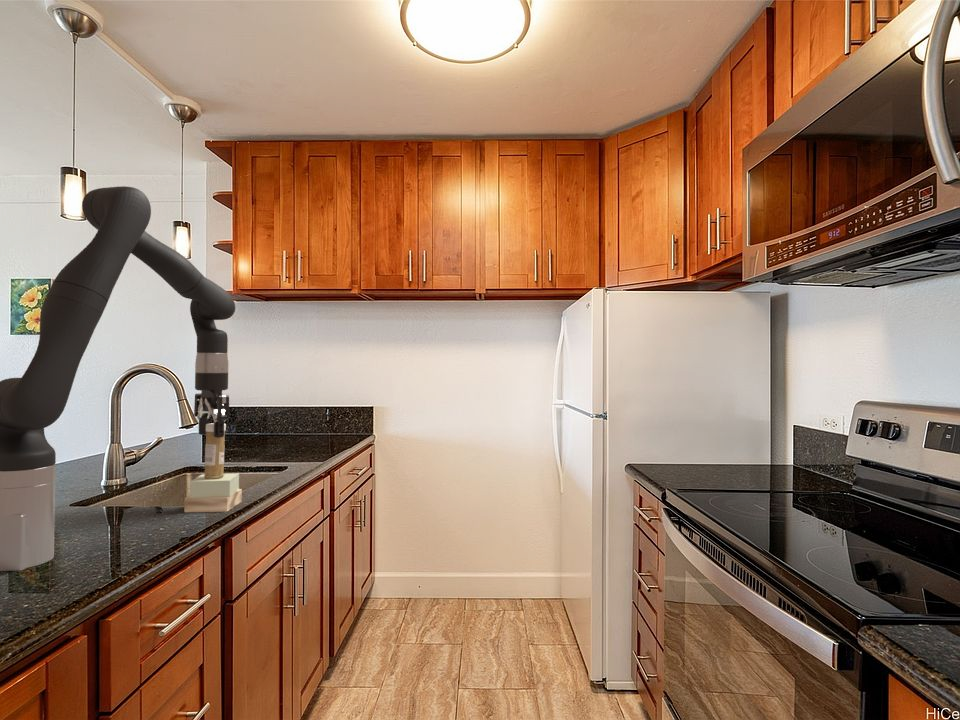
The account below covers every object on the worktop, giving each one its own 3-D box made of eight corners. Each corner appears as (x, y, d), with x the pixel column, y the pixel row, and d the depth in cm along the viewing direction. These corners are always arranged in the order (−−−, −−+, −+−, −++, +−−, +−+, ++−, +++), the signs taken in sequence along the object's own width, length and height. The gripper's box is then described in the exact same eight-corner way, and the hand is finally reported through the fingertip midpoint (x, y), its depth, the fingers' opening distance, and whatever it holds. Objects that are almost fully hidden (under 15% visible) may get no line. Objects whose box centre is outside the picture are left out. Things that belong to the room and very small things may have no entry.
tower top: (229, 496, 135) (229, 480, 135) (189, 498, 134) (190, 481, 134) (238, 488, 144) (239, 473, 144) (201, 489, 143) (201, 474, 143)
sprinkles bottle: (227, 477, 139) (229, 423, 139) (208, 479, 135) (211, 424, 136) (218, 475, 142) (220, 422, 142) (200, 477, 138) (202, 423, 139)
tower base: (227, 514, 134) (227, 498, 134) (184, 515, 134) (184, 498, 134) (241, 504, 144) (241, 488, 144) (201, 504, 143) (202, 489, 144)
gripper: (240, 371, 138) (239, 437, 138) (214, 370, 147) (213, 432, 147) (209, 371, 132) (208, 439, 132) (184, 370, 141) (183, 434, 141)
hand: (211, 435), depth 140 cm, fingers open, 8 cm apart
